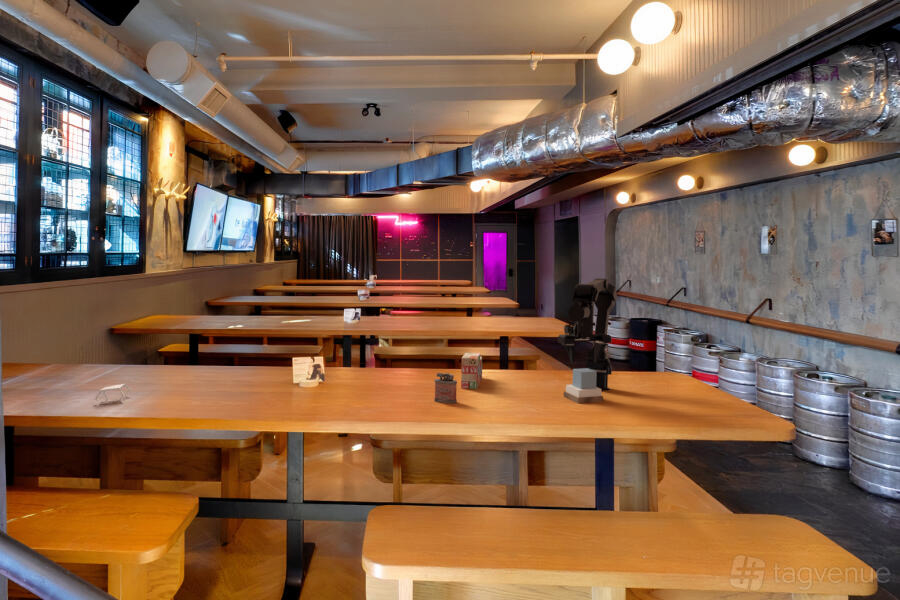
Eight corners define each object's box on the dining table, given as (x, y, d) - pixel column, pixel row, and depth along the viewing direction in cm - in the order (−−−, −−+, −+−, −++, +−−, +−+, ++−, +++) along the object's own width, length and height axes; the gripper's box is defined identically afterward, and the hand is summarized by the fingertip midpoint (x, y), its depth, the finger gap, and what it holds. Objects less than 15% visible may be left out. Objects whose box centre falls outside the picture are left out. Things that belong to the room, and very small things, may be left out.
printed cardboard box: (467, 377, 227) (467, 348, 226) (482, 378, 226) (482, 349, 225) (460, 388, 206) (461, 357, 205) (477, 389, 205) (477, 357, 204)
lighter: (458, 401, 186) (458, 373, 186) (454, 403, 183) (455, 374, 182) (436, 399, 189) (436, 371, 188) (432, 401, 186) (433, 373, 185)
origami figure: (118, 405, 177) (118, 390, 177) (93, 404, 177) (92, 390, 177) (139, 396, 189) (139, 382, 189) (115, 396, 189) (115, 382, 189)
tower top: (587, 390, 197) (587, 383, 197) (601, 396, 189) (601, 389, 189) (565, 391, 195) (565, 384, 195) (578, 397, 186) (578, 390, 186)
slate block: (587, 384, 195) (587, 368, 195) (596, 388, 190) (596, 371, 189) (572, 385, 194) (572, 368, 193) (581, 389, 188) (581, 372, 187)
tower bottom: (588, 396, 198) (588, 390, 198) (603, 403, 188) (603, 396, 188) (563, 398, 195) (563, 391, 195) (577, 405, 186) (577, 398, 185)
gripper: (596, 316, 201) (595, 358, 202) (550, 317, 195) (550, 360, 196) (613, 319, 190) (611, 363, 191) (565, 320, 185) (564, 365, 186)
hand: (584, 362), depth 191 cm, fingers open, 9 cm apart
